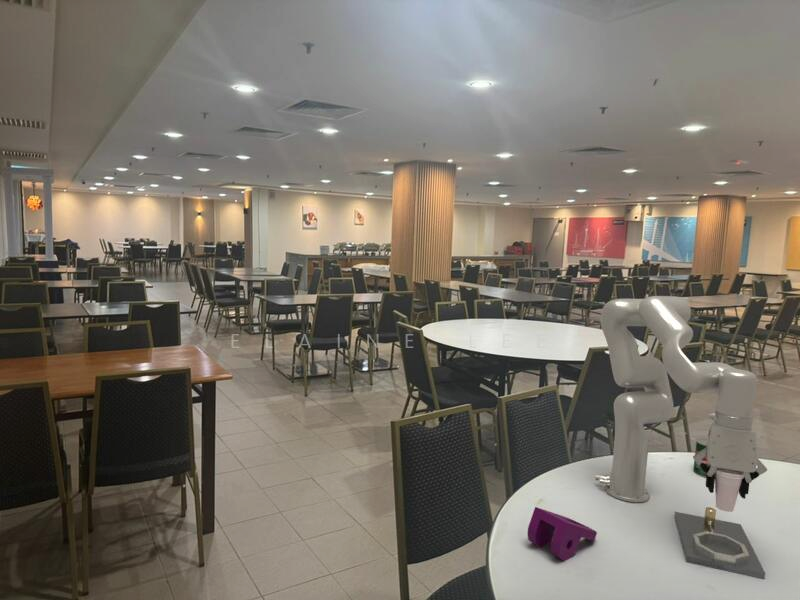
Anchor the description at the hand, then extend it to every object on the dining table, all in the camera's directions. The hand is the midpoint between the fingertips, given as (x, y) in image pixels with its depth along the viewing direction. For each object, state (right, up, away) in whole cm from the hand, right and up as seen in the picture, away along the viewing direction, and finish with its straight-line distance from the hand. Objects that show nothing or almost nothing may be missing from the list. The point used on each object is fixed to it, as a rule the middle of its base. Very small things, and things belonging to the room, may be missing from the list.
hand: (726, 492), depth 130 cm
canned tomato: (+25, -13, +52) cm, 59 cm away
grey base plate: (+1, -16, +7) cm, 17 cm away
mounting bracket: (-38, -15, +5) cm, 41 cm away
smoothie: (0, -4, 0) cm, 4 cm away
